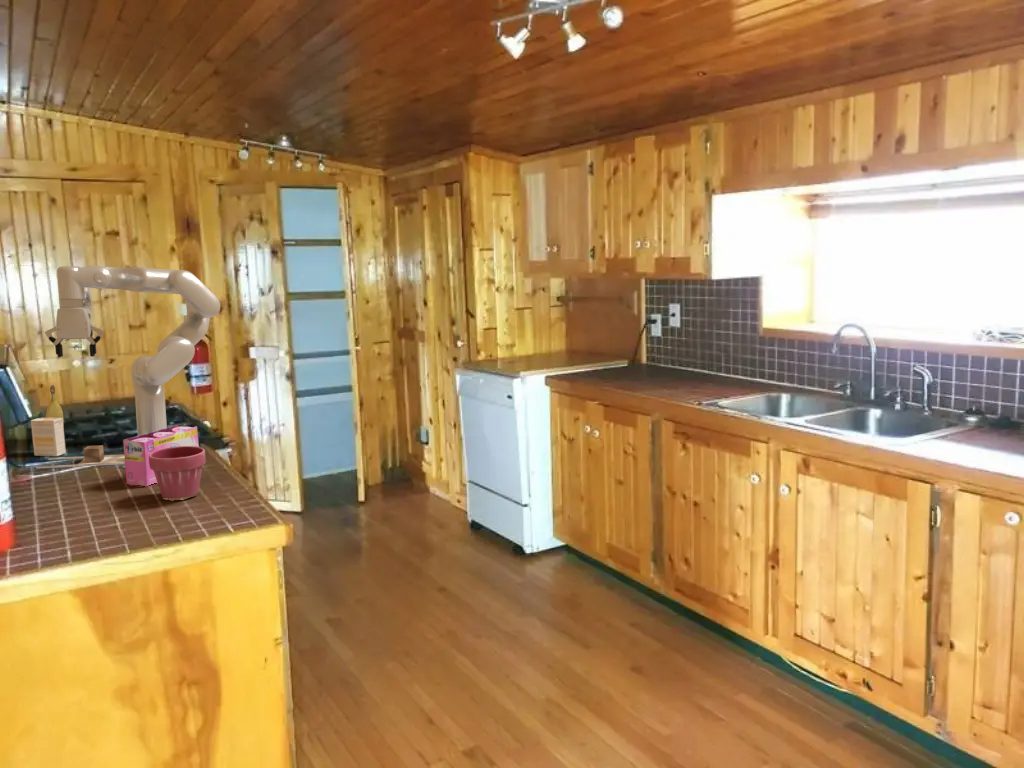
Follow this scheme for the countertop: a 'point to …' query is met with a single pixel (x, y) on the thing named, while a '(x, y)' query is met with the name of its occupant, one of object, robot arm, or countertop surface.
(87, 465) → the rails
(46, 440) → the supplement box
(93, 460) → the block
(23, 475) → the countertop surface
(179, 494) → the plant pot
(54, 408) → the banana
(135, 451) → the gum box
